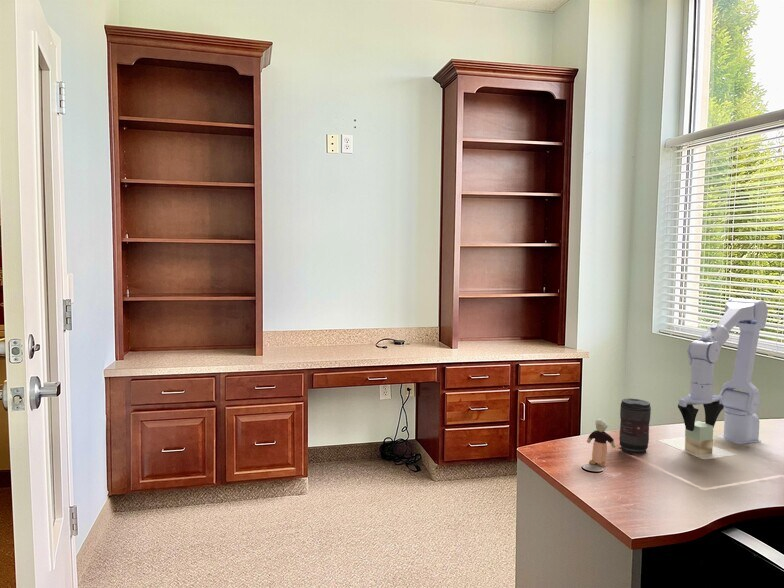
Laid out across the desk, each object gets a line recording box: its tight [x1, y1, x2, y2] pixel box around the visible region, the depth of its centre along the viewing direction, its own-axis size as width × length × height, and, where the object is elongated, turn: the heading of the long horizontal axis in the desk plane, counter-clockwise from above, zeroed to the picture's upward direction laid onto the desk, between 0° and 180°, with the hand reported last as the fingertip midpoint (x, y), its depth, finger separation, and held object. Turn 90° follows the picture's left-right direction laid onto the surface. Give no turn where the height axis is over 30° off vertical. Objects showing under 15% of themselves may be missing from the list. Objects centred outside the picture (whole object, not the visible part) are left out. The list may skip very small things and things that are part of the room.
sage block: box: [684, 420, 714, 441], centre depth 166 cm, size 5×5×4 cm
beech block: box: [684, 435, 714, 455], centre depth 166 cm, size 5×5×4 cm
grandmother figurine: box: [586, 418, 617, 467], centre depth 157 cm, size 8×4×13 cm, turn 62°
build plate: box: [657, 436, 736, 461], centre depth 170 cm, size 12×17×1 cm
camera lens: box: [619, 398, 652, 456], centre depth 167 cm, size 8×8×15 cm
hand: (699, 428), depth 166 cm, fingers open, 7 cm apart
